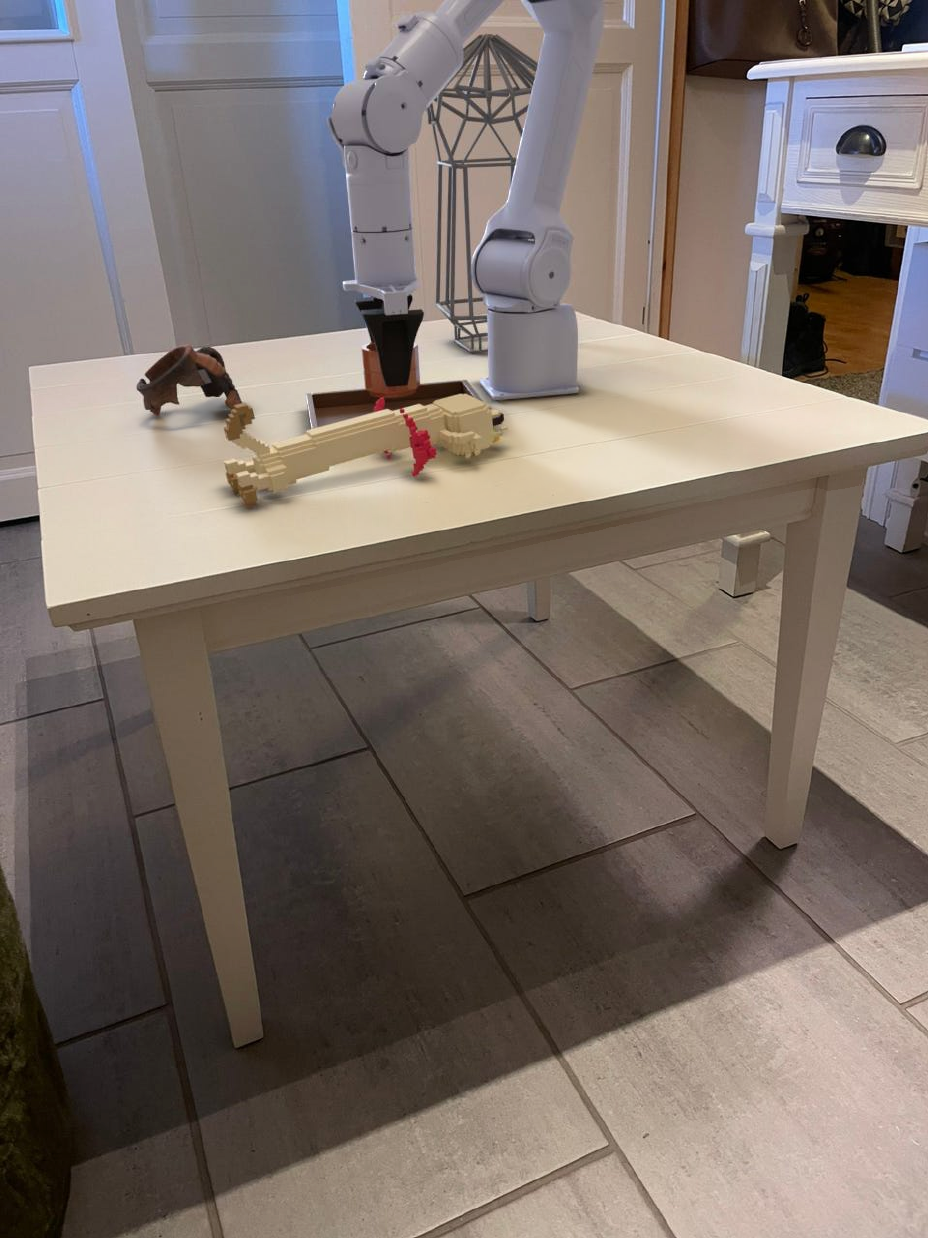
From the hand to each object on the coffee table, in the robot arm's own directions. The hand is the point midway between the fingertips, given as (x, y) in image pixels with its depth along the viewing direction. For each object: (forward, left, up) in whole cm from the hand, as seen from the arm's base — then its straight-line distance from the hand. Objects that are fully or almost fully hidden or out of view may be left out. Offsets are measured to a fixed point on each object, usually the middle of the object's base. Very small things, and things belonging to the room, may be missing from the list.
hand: (392, 377), depth 92 cm
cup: (0, 0, -1) cm, 1 cm away
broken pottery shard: (+20, -10, -5) cm, 23 cm away
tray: (0, 0, -4) cm, 4 cm away
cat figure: (+3, +14, -5) cm, 15 cm away
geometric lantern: (-17, -31, -5) cm, 36 cm away
